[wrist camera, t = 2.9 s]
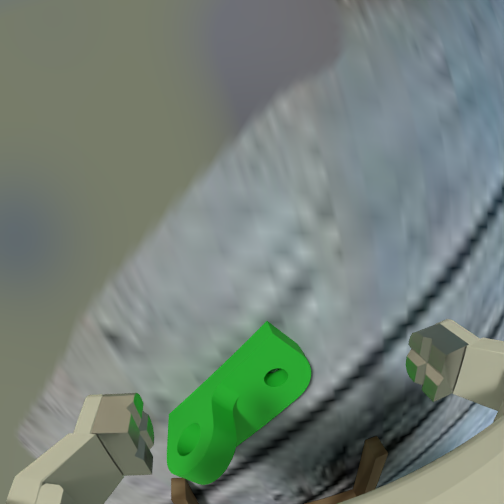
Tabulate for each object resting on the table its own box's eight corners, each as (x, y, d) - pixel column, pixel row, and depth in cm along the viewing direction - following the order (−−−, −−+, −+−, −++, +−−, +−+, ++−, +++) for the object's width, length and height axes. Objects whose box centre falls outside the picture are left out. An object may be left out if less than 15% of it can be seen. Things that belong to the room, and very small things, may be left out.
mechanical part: (222, 439, 26) (232, 508, 18) (169, 412, 24) (166, 486, 16) (317, 358, 25) (357, 424, 17) (266, 319, 23) (297, 388, 15)
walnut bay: (376, 435, 29) (388, 453, 26) (361, 490, 33) (368, 504, 30) (171, 478, 26) (171, 499, 23) (199, 524, 30) (201, 541, 27)
